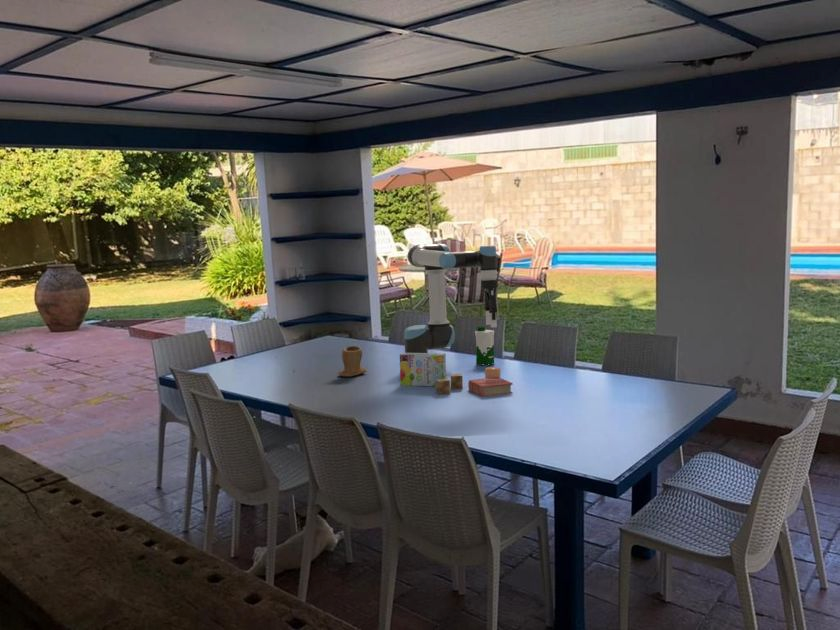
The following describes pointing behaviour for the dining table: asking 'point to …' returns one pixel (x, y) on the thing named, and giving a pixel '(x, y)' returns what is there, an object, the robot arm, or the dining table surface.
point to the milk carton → (484, 346)
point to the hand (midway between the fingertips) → (491, 326)
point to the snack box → (422, 368)
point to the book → (490, 386)
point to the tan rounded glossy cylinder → (492, 372)
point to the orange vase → (352, 361)
